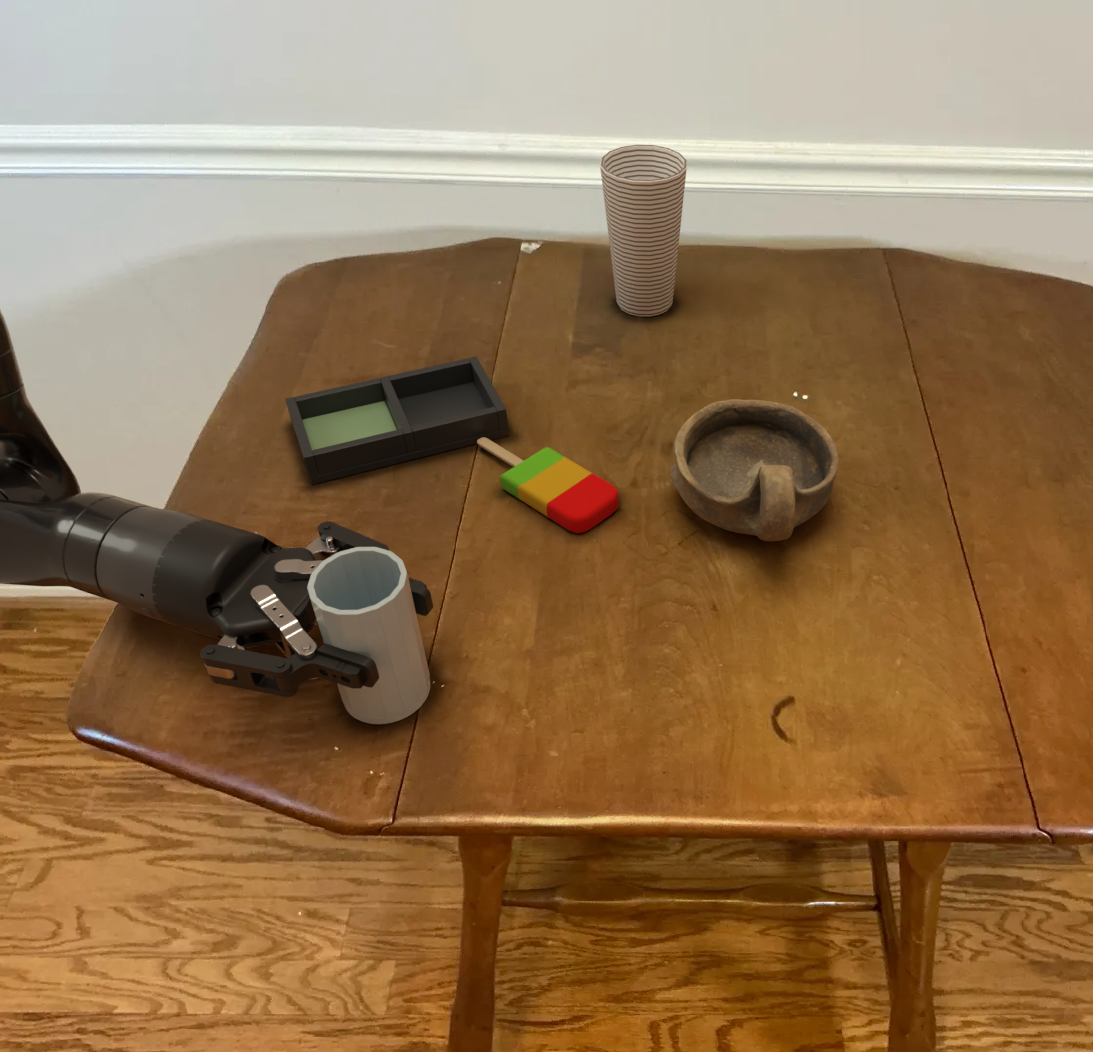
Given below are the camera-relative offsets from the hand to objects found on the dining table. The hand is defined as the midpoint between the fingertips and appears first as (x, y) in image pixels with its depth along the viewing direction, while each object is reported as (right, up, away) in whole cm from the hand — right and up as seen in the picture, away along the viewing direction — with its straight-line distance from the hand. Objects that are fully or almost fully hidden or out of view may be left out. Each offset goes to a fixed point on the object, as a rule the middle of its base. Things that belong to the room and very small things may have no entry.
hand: (402, 636), depth 70 cm
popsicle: (+6, +11, +22) cm, 25 cm away
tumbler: (-2, -4, +5) cm, 7 cm away
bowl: (+24, +8, +20) cm, 32 cm away
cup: (+14, +31, +44) cm, 56 cm away
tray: (-8, +16, +27) cm, 32 cm away
